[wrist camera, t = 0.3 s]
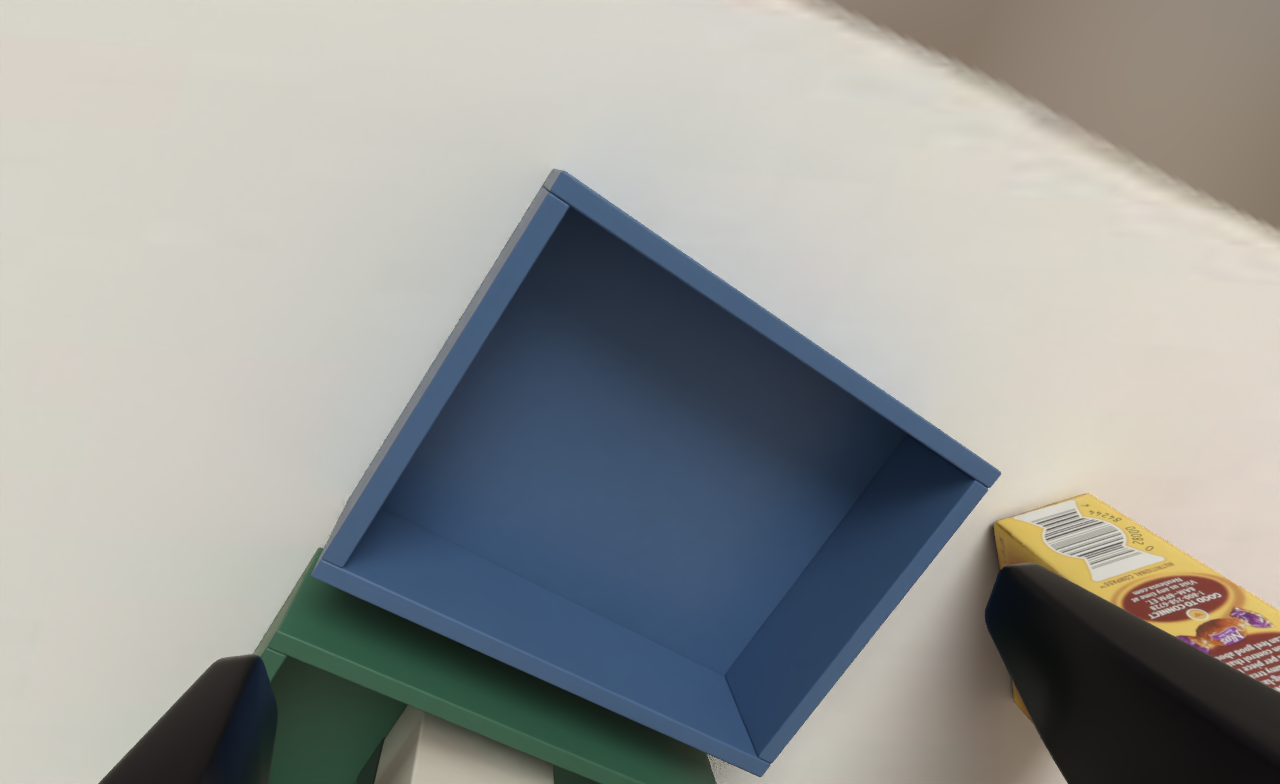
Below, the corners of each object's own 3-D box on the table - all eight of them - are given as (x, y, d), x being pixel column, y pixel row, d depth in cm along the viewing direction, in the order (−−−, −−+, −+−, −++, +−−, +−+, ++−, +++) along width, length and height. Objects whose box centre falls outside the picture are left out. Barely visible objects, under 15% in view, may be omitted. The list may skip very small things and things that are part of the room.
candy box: (979, 522, 27) (1490, 919, 13) (1085, 486, 28) (1699, 837, 13) (1003, 706, 30) (1442, 1197, 16) (1098, 672, 31) (1615, 1124, 16)
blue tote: (723, 684, 28) (761, 778, 24) (346, 501, 23) (309, 577, 19) (923, 422, 26) (1003, 473, 22) (553, 167, 21) (562, 169, 17)
